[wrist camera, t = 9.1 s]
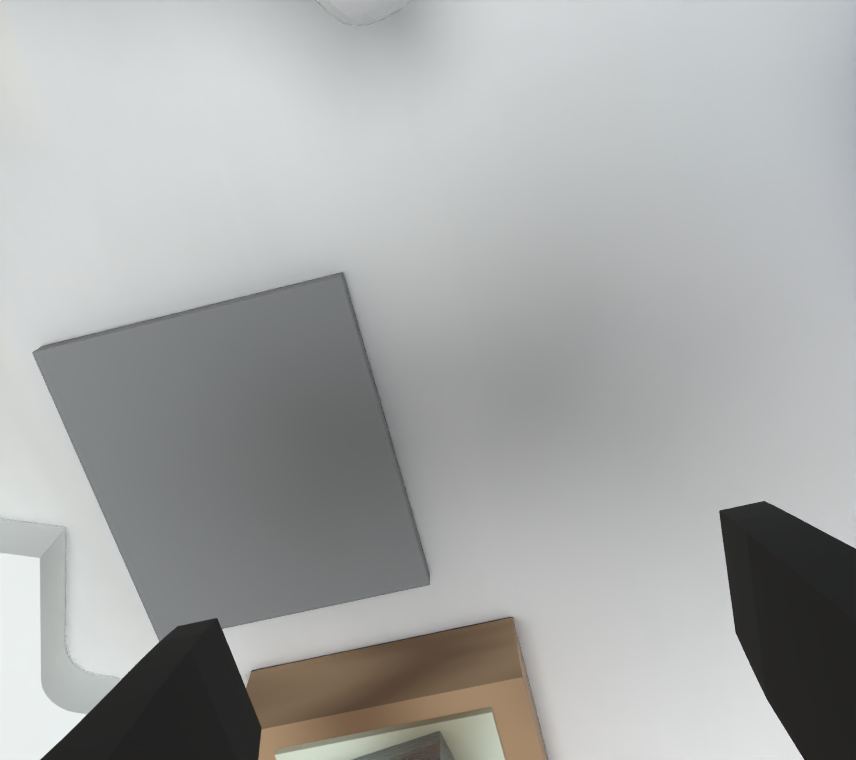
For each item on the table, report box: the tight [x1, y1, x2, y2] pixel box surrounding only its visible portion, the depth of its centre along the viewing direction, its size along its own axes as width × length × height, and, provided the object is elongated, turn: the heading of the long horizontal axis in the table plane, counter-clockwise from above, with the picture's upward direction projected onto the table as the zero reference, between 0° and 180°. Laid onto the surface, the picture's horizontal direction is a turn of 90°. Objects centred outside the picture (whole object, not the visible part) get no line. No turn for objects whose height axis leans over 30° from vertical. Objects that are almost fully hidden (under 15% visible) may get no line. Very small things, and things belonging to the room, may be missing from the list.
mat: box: [32, 272, 430, 642], centre depth 21 cm, size 8×9×1 cm
